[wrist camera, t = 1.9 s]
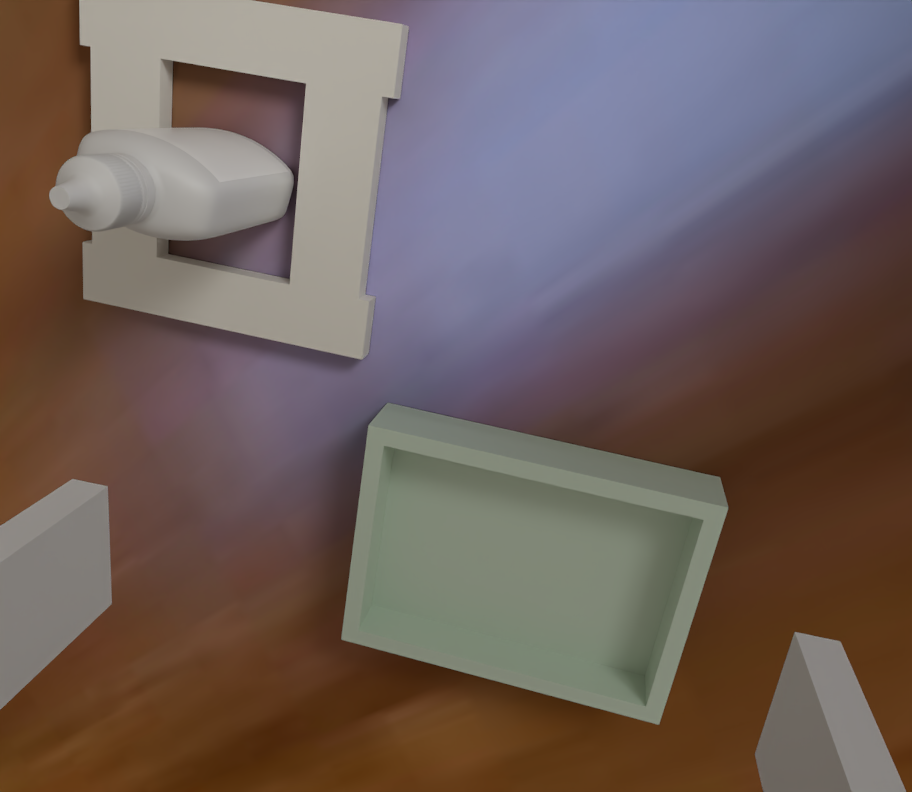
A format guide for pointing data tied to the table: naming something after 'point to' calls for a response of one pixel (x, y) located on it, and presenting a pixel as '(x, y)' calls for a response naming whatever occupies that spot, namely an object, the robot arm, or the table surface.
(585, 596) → the tray
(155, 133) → the eye dropper bottle
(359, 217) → the socket plate
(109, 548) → the robot arm
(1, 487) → the table surface
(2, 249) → the table surface
